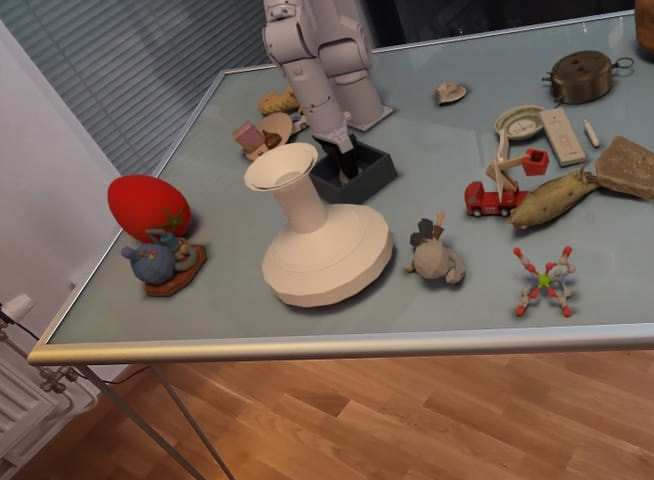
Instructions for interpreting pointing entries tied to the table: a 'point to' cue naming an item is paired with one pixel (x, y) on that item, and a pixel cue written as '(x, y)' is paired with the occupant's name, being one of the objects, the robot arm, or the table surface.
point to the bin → (362, 186)
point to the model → (165, 263)
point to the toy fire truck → (504, 185)
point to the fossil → (449, 92)
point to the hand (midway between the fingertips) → (348, 171)
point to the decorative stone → (626, 168)
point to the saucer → (520, 122)
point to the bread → (645, 24)
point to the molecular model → (546, 280)
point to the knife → (501, 159)
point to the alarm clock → (582, 76)
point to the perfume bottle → (264, 135)
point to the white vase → (316, 234)
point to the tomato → (148, 206)
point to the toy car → (298, 124)
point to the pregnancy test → (565, 136)
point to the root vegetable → (553, 198)
